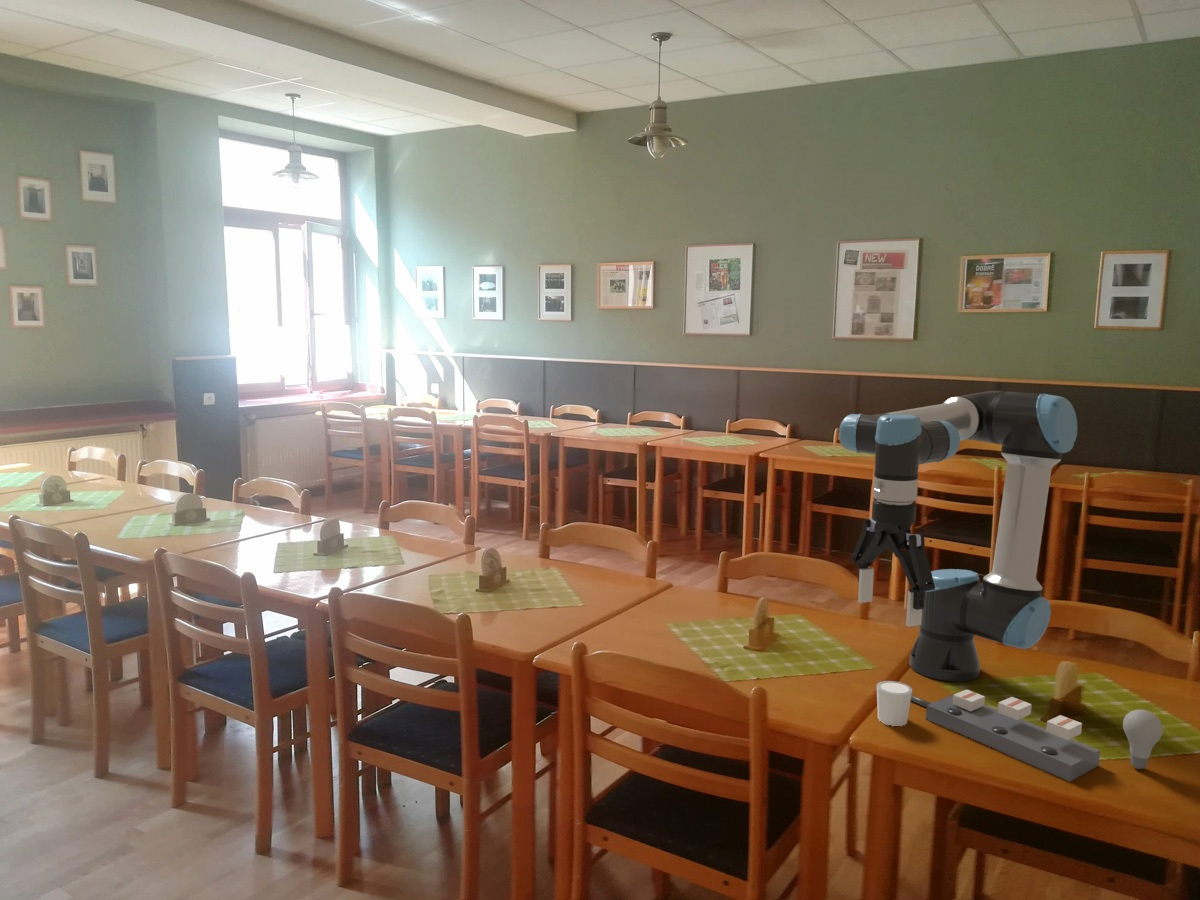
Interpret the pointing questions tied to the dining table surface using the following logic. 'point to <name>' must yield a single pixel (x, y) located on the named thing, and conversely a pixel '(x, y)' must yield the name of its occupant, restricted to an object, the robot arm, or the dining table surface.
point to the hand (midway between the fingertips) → (888, 613)
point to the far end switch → (1064, 727)
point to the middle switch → (1014, 708)
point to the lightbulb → (1142, 735)
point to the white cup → (893, 702)
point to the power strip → (1015, 738)
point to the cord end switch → (968, 700)
